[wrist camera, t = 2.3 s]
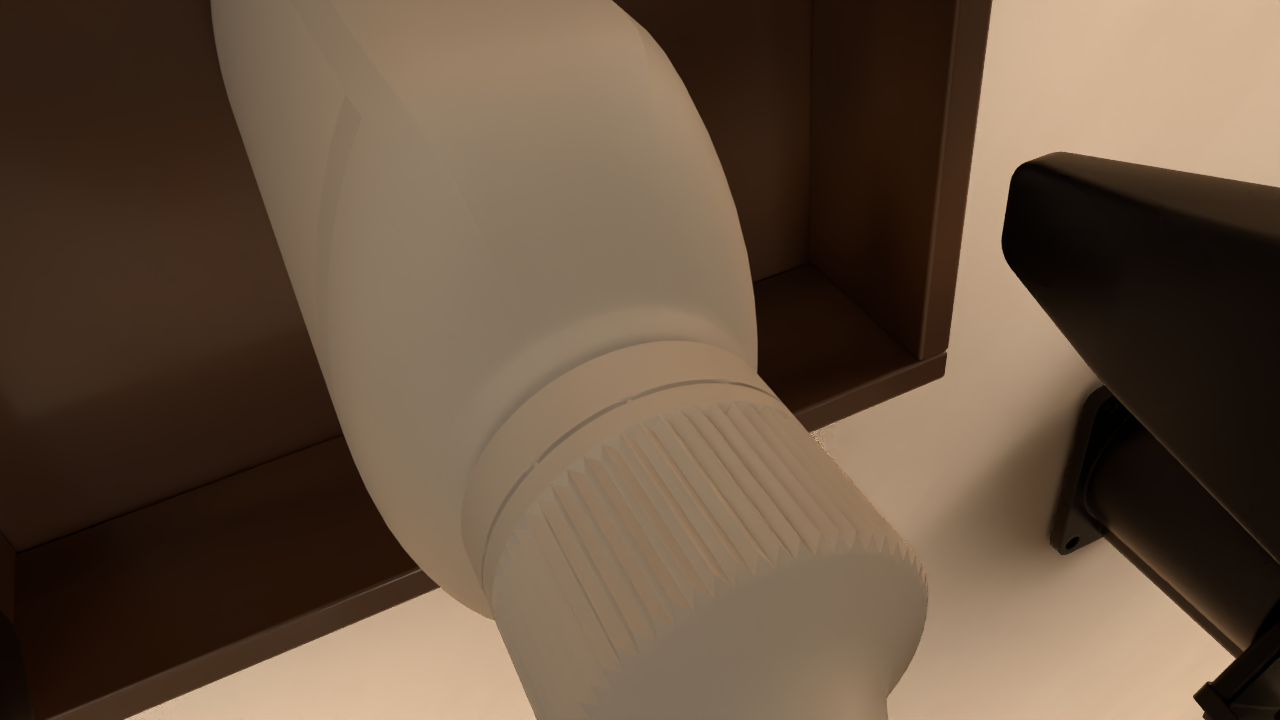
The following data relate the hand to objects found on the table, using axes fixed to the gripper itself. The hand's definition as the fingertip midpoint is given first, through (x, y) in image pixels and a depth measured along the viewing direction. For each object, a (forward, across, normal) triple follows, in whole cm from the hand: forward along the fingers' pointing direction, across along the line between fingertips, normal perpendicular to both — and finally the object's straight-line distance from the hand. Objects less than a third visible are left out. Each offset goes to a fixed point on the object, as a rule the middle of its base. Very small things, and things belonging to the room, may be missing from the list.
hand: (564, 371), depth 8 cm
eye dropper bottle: (+8, 0, 0) cm, 8 cm away
